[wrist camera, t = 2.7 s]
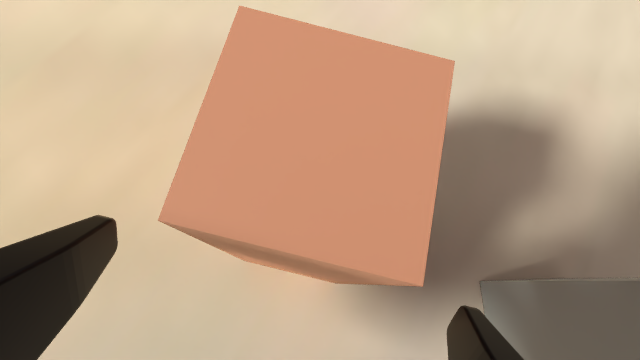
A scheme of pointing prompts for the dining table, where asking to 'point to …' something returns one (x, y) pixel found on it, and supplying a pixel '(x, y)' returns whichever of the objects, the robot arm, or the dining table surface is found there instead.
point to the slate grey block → (567, 317)
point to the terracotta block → (316, 153)
